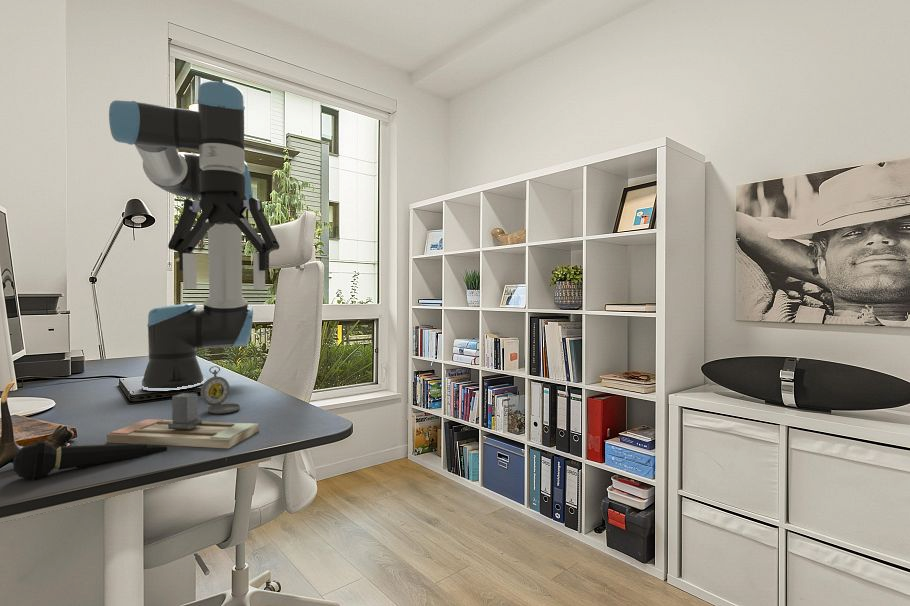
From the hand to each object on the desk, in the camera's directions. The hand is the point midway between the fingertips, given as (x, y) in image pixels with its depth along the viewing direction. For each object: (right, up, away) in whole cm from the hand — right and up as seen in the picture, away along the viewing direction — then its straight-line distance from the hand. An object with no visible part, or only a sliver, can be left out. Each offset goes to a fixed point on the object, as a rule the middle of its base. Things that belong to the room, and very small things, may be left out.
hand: (224, 289), depth 89 cm
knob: (-9, -26, +3) cm, 28 cm away
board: (-9, -28, +3) cm, 29 cm away
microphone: (-15, -29, -12) cm, 35 cm away
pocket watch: (-11, -28, +22) cm, 37 cm away
